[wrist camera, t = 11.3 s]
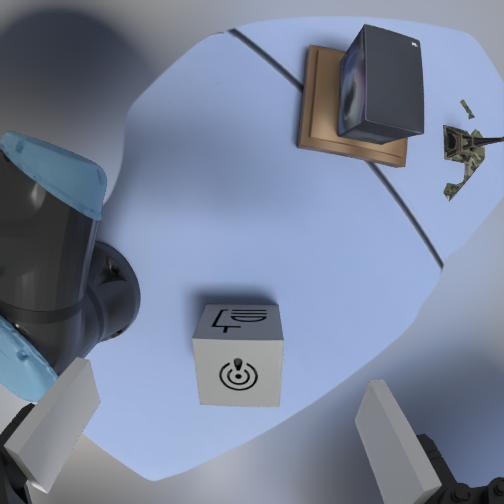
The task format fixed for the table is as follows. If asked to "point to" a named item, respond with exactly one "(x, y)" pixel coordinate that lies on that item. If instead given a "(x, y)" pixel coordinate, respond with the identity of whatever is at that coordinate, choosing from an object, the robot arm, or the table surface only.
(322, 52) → the plinth
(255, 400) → the icon cube
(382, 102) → the small box
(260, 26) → the table surface
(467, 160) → the eiffel tower figurine
